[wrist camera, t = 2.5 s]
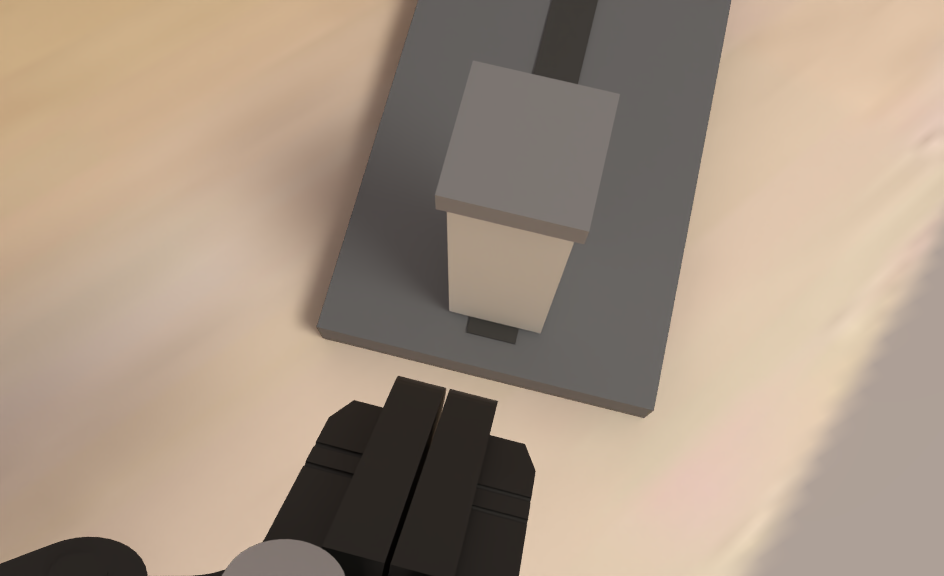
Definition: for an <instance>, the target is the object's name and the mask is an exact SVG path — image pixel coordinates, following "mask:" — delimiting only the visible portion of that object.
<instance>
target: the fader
mask: <svg viewBox="0 0 944 576" xmlns="http://www.w3.org/2000/svg"><path fill="white" fill-rule="evenodd" d="M619 97H620V94H618V93H613V92H609V91H605V90H600V89H596V88H591V87H587V86H583V85H578V84H574V83H570V82H565V81H561V80H556V79H552V78H548V77H543V76H539V75H535V74H530V73H526V72H521V71H517V70H513V69H508V68H504V67H500V66H495V65H491V64H486V63H482V62H478V61H473V62H472V66H471V69H470V73H469V76H468V80H467V83H466V87H465V90H464V94H463V97H462V101H461V104H460V108H459V112H458V115H457V119H456V122H455V126H454V129H453V133H452V136H451V140H450V143H449V147H448V150H447V154H446V158H445V161H444V165H443V168H442V172H441V175H440V179H439V182H438V186H437V189H436V193H435V206H436V209H437V210H442V211H446V212H447V241H448V281H449V311H451V312H455V313H459V314H463V315H467V316H471V317H475V318H479V319H483V320H487V321H491V322H495V323H500V324H504V325H508V326H512V327H516V328H520V329H524V330H528V331H532V332H536V333H541V331H542V328H543V325H544V322H545V320H546V317H547V314H548V312H549V309H550V306H551V304H552V301H553V298H554V295H555V293H556V290H557V287H558V285H559V282H560V279H561V276H562V274H563V271H564V268H565V266H566V263H567V260H568V258H569V255H570V252H571V249H572V247H573V244H574V242H576V243H580V244H584V243H585V241H586V238H587V236H588V233H589V230H590V226H591V222H592V217H593V213H594V208H595V204H596V199H597V195H598V190H599V186H600V181H601V177H602V172H603V168H604V164H605V159H606V155H607V150H608V146H609V141H610V137H611V132H612V128H613V123H614V119H615V114H616V110H617V106H618V101H619Z"/></svg>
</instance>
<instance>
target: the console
mask: <svg viewBox="0 0 944 576" xmlns="http://www.w3.org/2000/svg"><path fill="white" fill-rule="evenodd" d="M730 4H731V0H418V3H417V6H416V9H415V12H414V15H413V19H412V22H411V25H410V28H409V31H408V35H407V38H406V41H405V44H404V48H403V51H402V54H401V57H400V60H399V64H398V67H397V70H396V73H395V77H394V80H393V83H392V86H391V89H390V93H389V96H388V99H387V102H386V105H385V109H384V112H383V115H382V118H381V122H380V125H379V128H378V131H377V134H376V138H375V141H374V144H373V147H372V151H371V154H370V157H369V160H368V163H367V167H366V170H365V173H364V176H363V179H362V183H361V186H360V189H359V192H358V196H357V199H356V202H355V205H354V208H353V212H352V215H351V218H350V221H349V224H348V228H347V231H346V234H345V237H344V241H343V244H342V247H341V250H340V253H339V257H338V260H337V263H336V266H335V270H334V273H333V276H332V279H331V282H330V286H329V289H328V292H327V295H326V298H325V302H324V305H323V308H322V311H321V315H320V318H319V321H318V324H317V328H318V330H319V332H320V333H321V335H322V337H323V338H324V339H328V340H332V341H337V342H341V343H345V344H349V345H353V346H357V347H361V348H365V349H369V350H373V351H377V352H381V353H385V354H389V355H393V356H397V357H401V358H405V359H409V360H413V361H417V362H421V363H425V364H429V365H433V366H437V367H441V368H445V369H449V370H453V371H457V372H461V373H465V374H469V375H473V376H477V377H481V378H485V379H489V380H493V381H497V382H501V383H505V384H509V385H513V386H518V387H522V388H526V389H530V390H534V391H538V392H542V393H546V394H550V395H554V396H558V397H562V398H566V399H570V400H574V401H578V402H582V403H586V404H590V405H594V406H598V407H602V408H606V409H610V410H614V411H618V412H622V413H626V414H630V415H634V416H638V417H642V418H645V417H646V416H647V415H648V414H650V413H651V412H652V411H654V406H655V401H656V395H657V390H658V385H659V380H660V374H661V369H662V364H663V358H664V353H665V348H666V343H667V337H668V332H669V327H670V321H671V316H672V311H673V306H674V300H675V295H676V290H677V284H678V279H679V274H680V269H681V263H682V258H683V253H684V247H685V242H686V237H687V232H688V226H689V221H690V216H691V210H692V205H693V200H694V195H695V189H696V184H697V179H698V173H699V168H700V163H701V158H702V152H703V147H704V142H705V136H706V131H707V126H708V121H709V115H710V110H711V105H712V99H713V94H714V89H715V84H716V78H717V73H718V68H719V62H720V57H721V52H722V47H723V41H724V36H725V31H726V25H727V20H728V15H729V10H730ZM473 61H478V62H482V63H486V64H491V65H495V66H500V67H504V68H508V69H513V70H517V71H521V72H526V73H530V74H535V75H539V76H543V77H548V78H552V79H556V80H561V81H565V82H570V83H574V84H578V85H583V86H587V87H591V88H596V89H600V90H605V91H609V92H613V93H618V94H620V97H619V101H618V106H617V110H616V114H615V119H614V123H613V128H612V132H611V137H610V141H609V146H608V150H607V155H606V159H605V164H604V168H603V172H602V177H601V181H600V186H599V190H598V195H597V199H596V204H595V208H594V213H593V217H592V222H591V226H590V230H589V233H588V236H587V238H586V241H585V243H584V244H580V243H576V242H574V244H573V247H572V249H571V252H570V255H569V258H568V260H567V263H566V266H565V268H564V271H563V274H562V276H561V279H560V282H559V285H558V287H557V290H556V293H555V295H554V298H553V301H552V304H551V306H550V309H549V312H548V314H547V317H546V320H545V322H544V325H543V328H542V331H541V333H536V332H532V331H528V330H524V329H520V328H516V327H512V326H508V325H504V324H500V323H495V322H491V321H487V320H483V319H479V318H475V317H471V316H467V315H463V314H459V313H455V312H451V311H449V281H448V241H447V212H446V211H442V210H437V209H436V206H435V193H436V189H437V186H438V182H439V179H440V175H441V172H442V168H443V165H444V161H445V158H446V154H447V150H448V147H449V143H450V140H451V136H452V133H453V129H454V126H455V122H456V119H457V115H458V112H459V108H460V104H461V101H462V97H463V94H464V90H465V87H466V83H467V80H468V76H469V73H470V69H471V66H472V62H473Z"/></svg>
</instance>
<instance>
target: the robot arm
mask: <svg viewBox="0 0 944 576" xmlns="http://www.w3.org/2000/svg"><path fill="white" fill-rule="evenodd" d="M445 394H446V388H444V387H440V386H436V385H432V384H428V383H424V382H420V381H416V380H412V379H409V378H405V377H401V376H398V377H397V378H396V380H395V383H394V385H393V387H392V389H391V392H390V394H389V396H388V398H387V401H386V403H385V405H384V407H383V408H382V407H378V406H374V405H370V404H367V403H363V402H359V401H355V400H353V401H352V402H351V403H349V404H348V405H346V406H345V407H343V408H342V409H340V410H339V411H338V412H336V413H335V414H333V415H332V416H330V417H329V418H328V420H327V422H326V424H325V426H324V428H323V430H322V431H321V433H320V435H319V437H318V439H317V441H316V445H315V446H314V447H313V448H312V450H311V452H310V454H309V456H308V458H307V460H306V463H305V466H303V467H302V469H301V471H300V473H299V475H298V477H297V479H296V481H295V483H294V484H293V486H292V488H291V490H290V492H289V494H288V496H287V498H286V500H285V501H284V503H283V505H282V507H281V509H280V511H279V513H278V515H277V517H276V518H275V520H274V522H273V524H272V526H271V528H270V530H269V532H268V534H267V535H266V537H265V539H264V541H263V542H262V543H259V544H256V545H254V546H252V547H249V548H248V549H246V550H244V551H243V552H241V553H240V554H239V555H238V556H237V557H235V558H234V559H233V561H232V562H231V563H230V564H229V565H228V567H227V568H226V569H225V570H222V571H219V572H215V573H211V574H205V575H195V576H519V571H520V565H521V559H522V553H523V546H524V540H525V534H526V528H527V521H528V515H529V509H530V501H531V496H532V490H533V484H534V478H535V468H534V466H533V463H532V461H531V458H530V456H529V453H528V451H527V448H526V446H525V444H522V443H518V442H514V441H511V440H507V439H503V438H499V437H495V436H491V435H490V431H491V427H492V423H493V419H494V415H495V411H496V407H497V402H498V401H495V400H491V399H487V398H483V397H480V396H476V395H472V394H468V393H464V392H460V391H456V390H452V389H450V390H449V393H448V396H447V399H446V402H445V404H444V400H445ZM443 404H444V407H443ZM442 409H443V410H442ZM0 576H147V570H146V566H145V564H144V562H143V561H142V559H141V558H140V556H139V555H138V554H137V553H136V552H135V551H134V550H132V549H131V548H130V547H128V546H126V545H124V544H122V543H120V542H117V541H114V540H111V539H106V538H100V537H81V538H73V539H68V540H64V541H60V542H57V543H54V544H51V545H49V546H46V547H43V548H41V549H38V550H36V551H33V552H30V553H28V554H25V555H22V556H20V557H17V558H14V559H12V560H9V561H6V562H4V563H1V564H0Z"/></svg>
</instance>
